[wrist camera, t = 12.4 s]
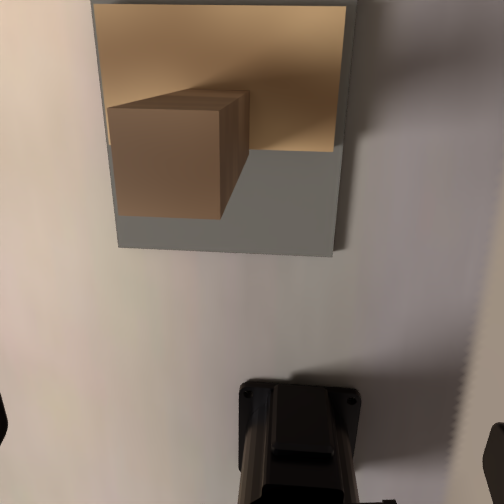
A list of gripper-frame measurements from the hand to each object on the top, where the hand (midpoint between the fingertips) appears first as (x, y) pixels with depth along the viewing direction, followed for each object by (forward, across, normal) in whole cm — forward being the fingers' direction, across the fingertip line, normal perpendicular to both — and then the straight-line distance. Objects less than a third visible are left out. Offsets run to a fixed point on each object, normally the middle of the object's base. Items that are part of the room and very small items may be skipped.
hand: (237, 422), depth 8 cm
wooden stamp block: (+12, +2, -5) cm, 14 cm away
